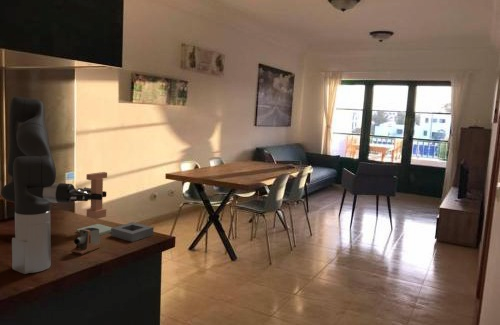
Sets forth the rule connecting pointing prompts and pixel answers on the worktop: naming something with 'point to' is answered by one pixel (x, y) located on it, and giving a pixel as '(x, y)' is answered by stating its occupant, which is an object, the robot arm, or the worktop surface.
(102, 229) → the mat
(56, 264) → the worktop surface
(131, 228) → the socket block
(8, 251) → the worktop surface
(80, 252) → the electronic device
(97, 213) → the t key
